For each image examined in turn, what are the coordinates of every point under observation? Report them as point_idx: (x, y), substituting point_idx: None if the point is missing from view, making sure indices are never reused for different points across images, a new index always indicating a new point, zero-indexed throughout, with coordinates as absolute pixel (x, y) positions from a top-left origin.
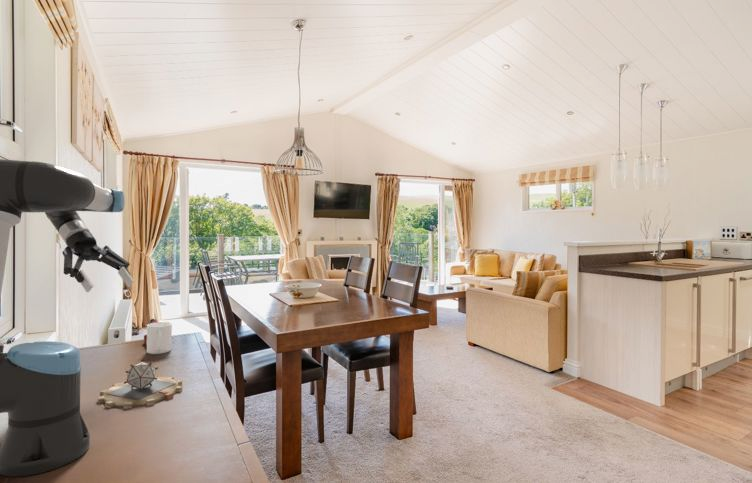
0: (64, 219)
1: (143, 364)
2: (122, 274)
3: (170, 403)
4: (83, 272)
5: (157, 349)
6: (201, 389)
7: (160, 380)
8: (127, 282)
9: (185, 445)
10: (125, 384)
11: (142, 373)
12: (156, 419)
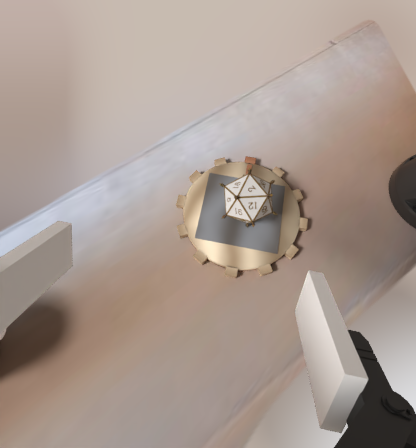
0: None
1: (253, 183)
2: (14, 298)
3: (266, 151)
4: (345, 352)
5: (3, 335)
6: (207, 138)
7: (198, 206)
8: (60, 262)
9: (355, 83)
10: (229, 253)
11: (265, 181)
12: (314, 140)
